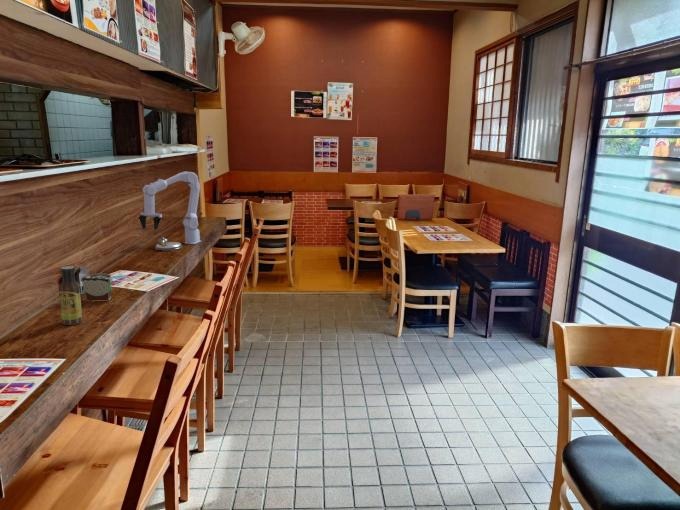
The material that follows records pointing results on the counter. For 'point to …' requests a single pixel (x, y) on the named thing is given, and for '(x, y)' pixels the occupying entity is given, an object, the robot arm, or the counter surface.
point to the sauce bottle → (69, 297)
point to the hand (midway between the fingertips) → (150, 228)
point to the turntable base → (168, 249)
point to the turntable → (168, 245)
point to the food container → (97, 286)
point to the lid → (164, 241)
